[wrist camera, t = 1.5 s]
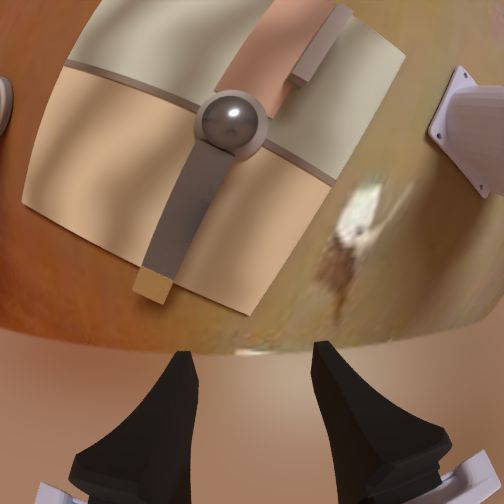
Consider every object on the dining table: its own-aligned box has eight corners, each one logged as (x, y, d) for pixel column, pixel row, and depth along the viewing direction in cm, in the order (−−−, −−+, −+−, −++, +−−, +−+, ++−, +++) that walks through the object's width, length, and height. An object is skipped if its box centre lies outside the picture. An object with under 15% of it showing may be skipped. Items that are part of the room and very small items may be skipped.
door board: (401, 57, 14) (427, 48, 11) (249, 311, 22) (251, 339, 19) (151, -52, 9) (140, -73, 6) (25, 200, 17) (0, 212, 14)
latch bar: (221, 94, 14) (218, 86, 12) (263, 115, 15) (268, 111, 13) (138, 272, 19) (126, 291, 16) (173, 288, 19) (165, 310, 17)
